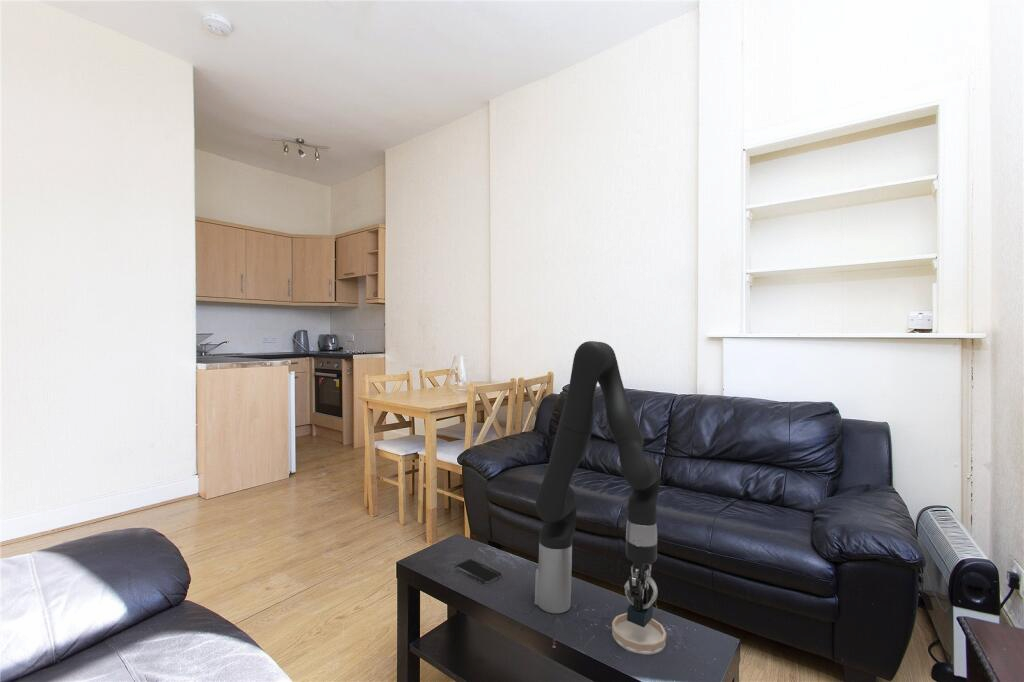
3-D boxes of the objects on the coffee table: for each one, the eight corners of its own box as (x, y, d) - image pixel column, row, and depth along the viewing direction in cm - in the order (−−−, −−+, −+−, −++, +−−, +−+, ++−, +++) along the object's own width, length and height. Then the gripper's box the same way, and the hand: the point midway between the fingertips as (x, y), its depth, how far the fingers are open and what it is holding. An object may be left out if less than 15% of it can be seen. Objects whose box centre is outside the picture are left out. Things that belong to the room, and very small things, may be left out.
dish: (605, 642, 110) (605, 632, 110) (621, 616, 121) (621, 607, 121) (658, 661, 103) (659, 651, 103) (670, 632, 114) (670, 623, 114)
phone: (485, 583, 134) (453, 565, 145) (485, 587, 134) (453, 569, 145) (503, 574, 140) (471, 558, 150) (503, 577, 140) (471, 561, 150)
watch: (628, 608, 116) (630, 565, 117) (659, 621, 112) (661, 575, 112) (619, 617, 112) (621, 572, 113) (650, 630, 107) (653, 583, 108)
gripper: (634, 526, 121) (633, 591, 120) (618, 545, 108) (617, 617, 108) (663, 532, 117) (662, 599, 116) (649, 552, 105) (648, 627, 104)
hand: (640, 607), depth 112 cm, fingers closed on watch, 3 cm apart
